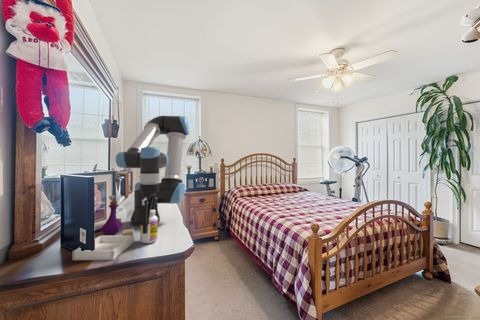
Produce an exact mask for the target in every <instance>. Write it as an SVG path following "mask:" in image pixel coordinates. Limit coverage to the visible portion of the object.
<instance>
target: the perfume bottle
mask: <svg viewBox="0 0 480 320" xmlns="http://www.w3.org/2000/svg"><path fill="white" fill-rule="evenodd" d="M116 197H117V195H109V196H108V199H109V200H110V204H109V205H108V207H109V209H110V214H109V216H108V218H107V220H106V221H105V222H104V224H103V226H101V228H100V229H99V230H100V231H101V232H102V234H103V235H104V236H117V234H118V233H119V232H120V230H121V229H122V227H123V226H124V223H123V222H121V221H120V220H119V219H118V218H117V216H116V210H117V207H119V204H118V200H115V199H116Z"/></svg>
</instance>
